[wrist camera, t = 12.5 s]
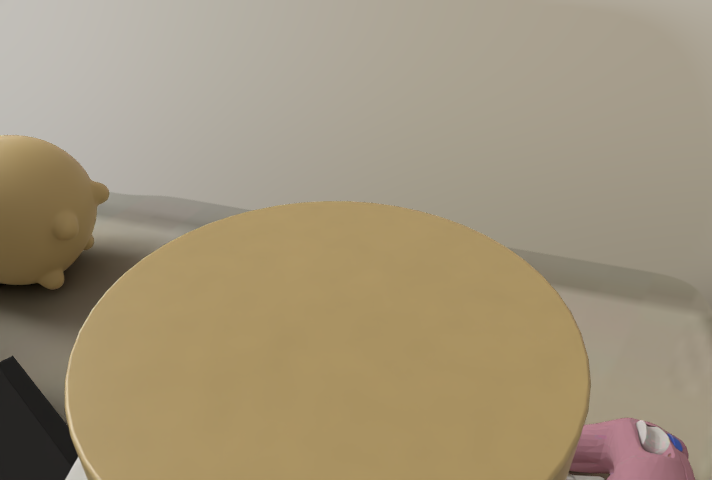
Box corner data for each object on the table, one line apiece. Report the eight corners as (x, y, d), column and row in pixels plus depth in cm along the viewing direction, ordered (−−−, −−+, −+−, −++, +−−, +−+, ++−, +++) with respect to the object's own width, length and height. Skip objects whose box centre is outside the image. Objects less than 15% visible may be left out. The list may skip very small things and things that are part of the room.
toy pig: (74, 272, 50) (-44, 194, 47) (147, 180, 45) (20, 86, 42) (9, 350, 42) (-141, 262, 38) (89, 248, 37) (-75, 137, 33)
